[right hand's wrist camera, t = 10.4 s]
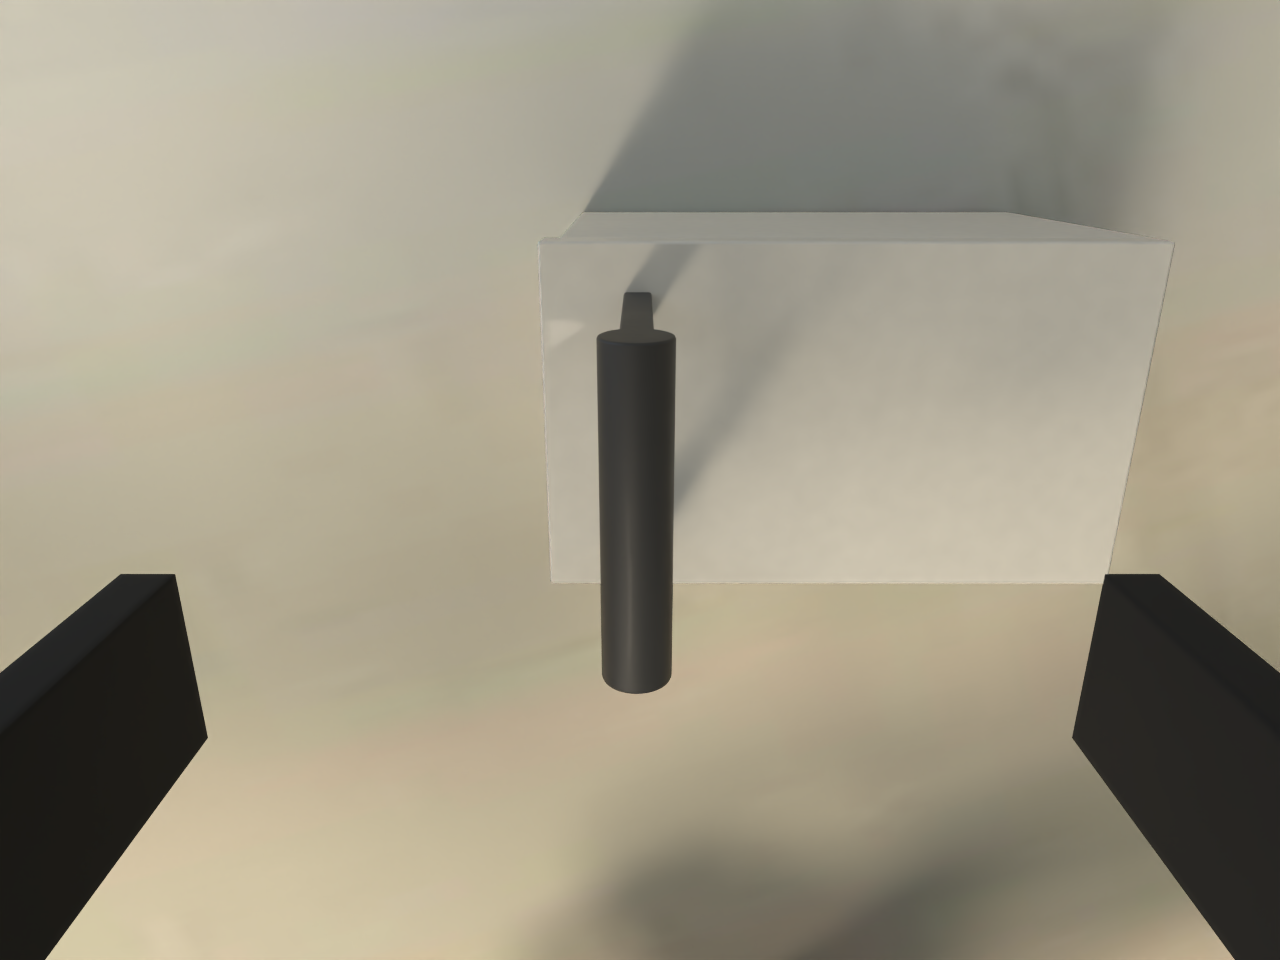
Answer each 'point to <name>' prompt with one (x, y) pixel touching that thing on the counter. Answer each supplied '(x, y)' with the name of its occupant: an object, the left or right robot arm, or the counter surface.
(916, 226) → the chest
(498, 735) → the counter surface
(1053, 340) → the lid
